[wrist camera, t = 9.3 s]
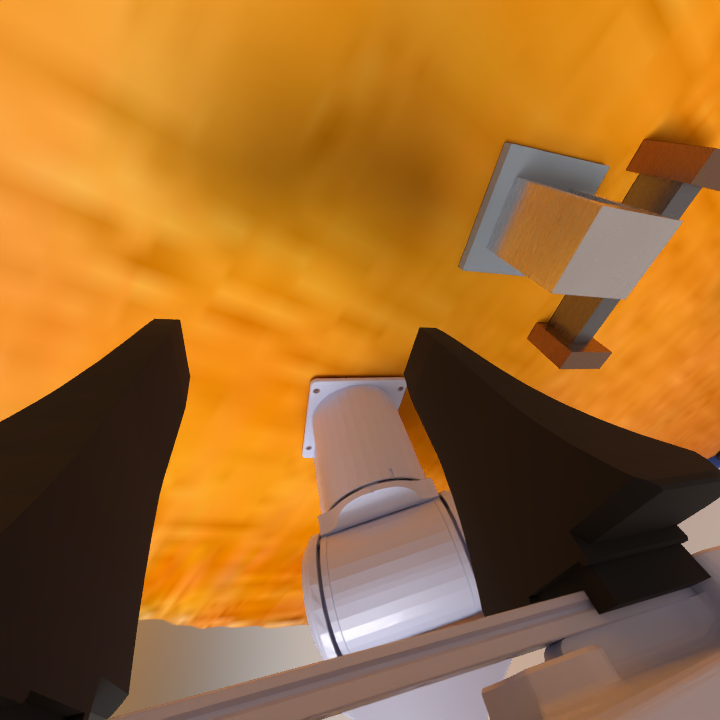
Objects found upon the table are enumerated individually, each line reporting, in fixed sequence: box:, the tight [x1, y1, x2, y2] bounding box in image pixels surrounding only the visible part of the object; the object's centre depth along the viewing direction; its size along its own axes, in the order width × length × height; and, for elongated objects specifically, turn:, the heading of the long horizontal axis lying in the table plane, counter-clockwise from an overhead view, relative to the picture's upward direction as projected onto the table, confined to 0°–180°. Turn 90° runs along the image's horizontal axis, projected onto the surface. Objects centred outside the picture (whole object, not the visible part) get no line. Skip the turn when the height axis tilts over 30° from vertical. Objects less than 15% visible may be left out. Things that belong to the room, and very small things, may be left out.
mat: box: [459, 142, 610, 276], centre depth 20 cm, size 7×7×1 cm
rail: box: [527, 140, 720, 369], centre depth 22 cm, size 14×4×4 cm, turn 169°
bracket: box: [486, 177, 683, 299], centre depth 18 cm, size 4×5×6 cm
